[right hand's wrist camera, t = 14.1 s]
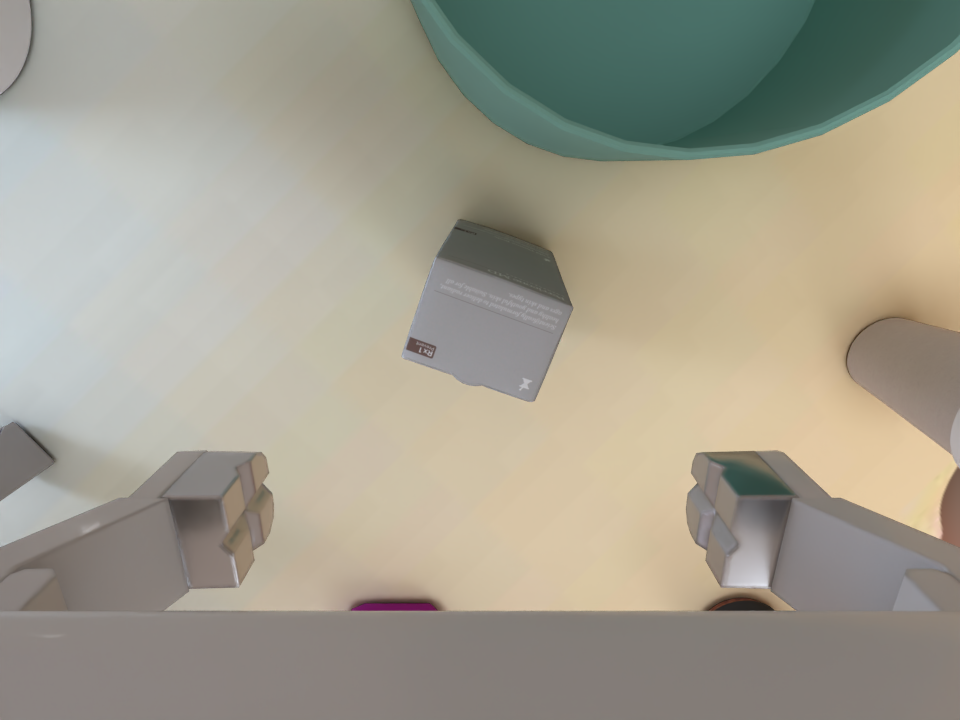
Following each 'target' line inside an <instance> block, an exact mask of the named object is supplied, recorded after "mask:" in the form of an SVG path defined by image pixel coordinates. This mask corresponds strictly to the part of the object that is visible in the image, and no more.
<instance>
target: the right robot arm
mask: <svg viewBox="0 0 960 720" xmlns="http://www.w3.org/2000/svg"><path fill="white" fill-rule="evenodd" d="M31 28H32V20H31V9H30V2H29V0H0V94H2V93H3V92H4V91H5V90H6V89H8V87H9V86H10V85H11V84H12V83H13V82H14V81H15V79H16V78H17V76H18V75H19V73H20V71H21V70H22V68H23V65H24V63H25V61H26V58H27V55H28V51H29V47H30V40H31ZM268 474H269V470H268V465H267V459H266V457H265V456H264V454H263V453H262V452H234V451H206V450H205V451H181V452H177V453H175V454H174V455H173V456H172V457H171V458H170V459H169V460H168V461H167V462H166V463H165V464H164V465H163V466H162V467H161V468H159V469H158V470H157V471H156V472H155V473H154V474H153V475H152V476H151V477H150V478H149V479H148V480H147V481H146V482H145V483H144V484H142V485H141V486H140V487H139V488H138V489H137V490H136V491H135V492H134V493H133V494H132V495H131V496H130V497H129V498H118V499H116V500H113V501H111V502H108V503H106V504H104V505H101V506H99V507H96V508H94V509H91V510H89V511H87V512H84V513H82V514H79V515H77V516H75V517H72V518H70V519H67V520H65V521H63V522H60V523H58V524H55V525H53V526H51V527H48V528H46V529H43V530H41V531H39V532H36V533H34V534H31V535H29V536H27V537H24V538H22V539H19V540H17V541H15V542H12V543H10V544H7V545H5V546H2V547H0V720H960V547H957V546H955V545H952V544H950V543H947V542H945V541H943V540H940V539H938V538H936V537H933V536H931V535H928V534H926V533H924V532H921V531H919V530H916V529H914V528H912V527H909V526H907V525H904V524H902V523H900V522H897V521H895V520H892V519H890V518H888V517H885V516H883V515H880V514H878V513H876V512H873V511H871V510H868V509H866V508H864V507H861V506H859V505H856V504H854V503H852V502H849V501H847V500H844V499H842V498H831V497H830V496H829V495H828V494H827V493H826V492H825V491H824V490H823V489H822V488H821V487H820V486H819V485H818V484H817V483H816V482H814V481H813V480H812V479H811V478H810V477H809V476H808V475H807V474H806V473H805V472H804V471H803V470H802V469H801V468H800V467H799V466H797V465H796V464H795V463H794V462H793V461H792V460H791V459H790V458H789V457H788V456H787V455H786V454H785V453H783V452H780V451H777V450H773V451H735V452H701V453H696V455H695V458H694V460H693V464H692V469H691V474H692V475H693V477H694V478H695V480H696V481H697V484H696V485H695V486H694V487H693V488H692V489H691V491H690V492H689V493H688V495H687V504H686V515H687V524H688V527H689V530H690V533H691V536H692V537H693V539H694V541H695V543H696V544H697V545H699V546H701V547H702V548H704V549H705V550H707V554H706V560H705V561H706V562H707V564H708V566H709V567H710V569H711V571H712V573H713V574H714V576H715V578H716V580H717V581H718V583H719V585H720V586H721V587H723V588H760V589H771V592H773V593H774V594H775V595H777V596H778V597H779V598H781V599H782V600H783V601H785V602H786V603H787V604H789V605H790V606H791V607H792V608H794V609H795V610H796V611H164V610H165V609H166V608H168V607H169V606H170V605H172V604H173V603H174V602H176V601H177V600H178V599H180V598H181V597H182V596H184V595H185V594H186V593H188V592H189V589H200V588H235V587H240V585H241V583H242V581H243V580H244V578H245V576H246V574H247V573H248V571H249V569H250V568H251V566H252V564H253V562H254V561H255V560H254V554H253V550H255V549H256V548H258V547H259V546H261V545H263V544H264V543H265V541H266V539H267V537H268V535H269V534H270V531H271V526H272V522H273V518H274V502H273V495H272V493H271V492H270V491H269V489H268V488H267V487H266V486H265V485H264V484H263V482H264V480H265V478H266V477H267V475H268Z"/></svg>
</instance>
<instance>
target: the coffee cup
mask: <svg viewBox="0 0 960 720" xmlns="http://www.w3.org/2000/svg"><path fill="white" fill-rule="evenodd" d="M847 367H848V371H849V373H850V375H851V377H852V378H853V380H854V381H855V382H857V383H858V384H859V385H860V386H862V387H863V388H864V389H866V390H867V391H868V392H870V393H871V394H872V395H874V396H875V397H876V398H878V399H879V400H880V401H882V402H883V403H884V404H886V405H887V406H888V407H890V408H891V409H892V410H894V411H895V412H896V413H898V414H899V415H900V416H902V417H903V418H904V419H906V420H907V421H908V422H909V423H911V424H912V425H913V426H915V427H916V428H917V429H919V430H920V431H921V432H923V433H924V434H925V435H927V436H928V437H929V438H931V439H932V440H933V441H935V442H936V443H937V444H938V445H940V446H941V447H942V448H944V449H945V450H946V451H948V452H949V453H950V454H951V455H952V456H953V458H954V460H955V462H956V464H957V466H958V467H959V468H960V333H959V332H955V331H951V330H947V329H943V328H939V327H935V326H931V325H927V324H923V323H919V322H915V321H911V320H907V319H903V318H888V319H884V320H881V321H878V322H876V323H874V324H872V325H870V326H869V327H867V328H866V329H865V330H863V331H862V332H861V333H860V334H859V335H858V336H857V338H856V339H855V340H854V342H853V344H852V345H851V347H850V350H849V353H848V357H847Z"/></svg>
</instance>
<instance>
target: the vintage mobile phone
mask: <svg viewBox="0 0 960 720" xmlns="http://www.w3.org/2000/svg"><path fill="white" fill-rule="evenodd" d="M52 464H54V461H53V459H52V458H51V457H50V456H49V455H48V454H47V453H46V452H45V451H44V450H43V449H42V448H41V447H40V446H39V445H38V444H37V443H36V442H35V441H34V440H33V439H32V438H31V437H30V436H29V435H28V434H27V433H26V432H25V431H24V430H23V429H22V428H21V427H20V426H19V425H18V424H16V423H14V422H12V423H10V424H8V425H6V426H4V427H3V428H1V429H0V501H1V500H3V499H4V498H5V497H7V496H8V495H10V494H11V493H12V492H14V491H15V490H17V489H18V488H20V487H21V486H22V485H24V484H25V483H27V482H28V481H30V480H31V479H32V478H34V477H35V476H37V475H38V474H39V473H41V472H42V471H44V470H45V469H47V468H48V467H49V466H51V465H52Z"/></svg>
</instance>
